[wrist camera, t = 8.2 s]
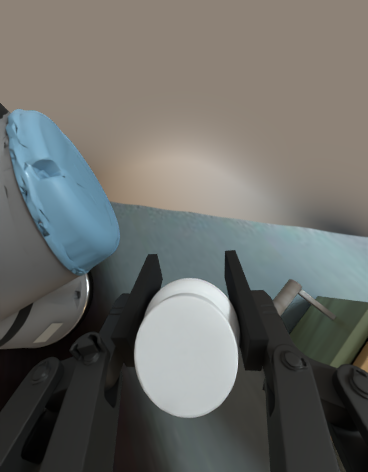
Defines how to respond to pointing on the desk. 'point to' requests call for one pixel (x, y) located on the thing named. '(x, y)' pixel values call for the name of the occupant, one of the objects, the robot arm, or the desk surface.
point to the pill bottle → (188, 348)
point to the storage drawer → (327, 326)
